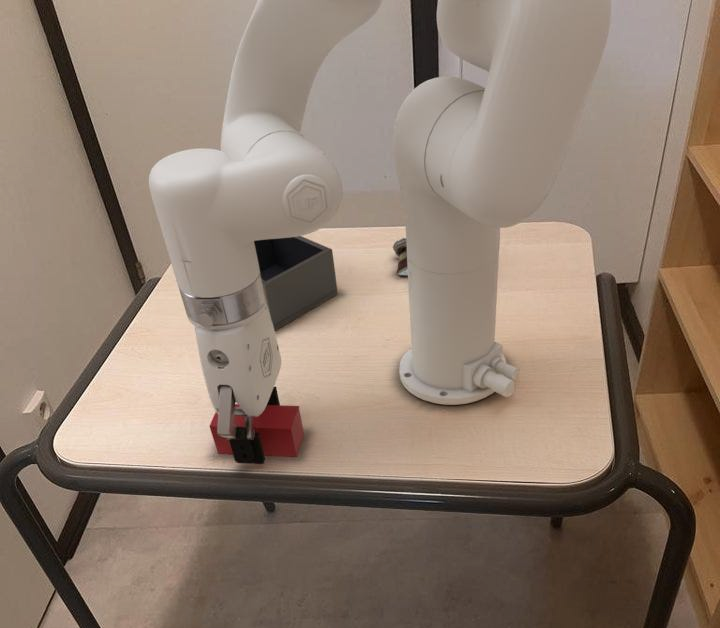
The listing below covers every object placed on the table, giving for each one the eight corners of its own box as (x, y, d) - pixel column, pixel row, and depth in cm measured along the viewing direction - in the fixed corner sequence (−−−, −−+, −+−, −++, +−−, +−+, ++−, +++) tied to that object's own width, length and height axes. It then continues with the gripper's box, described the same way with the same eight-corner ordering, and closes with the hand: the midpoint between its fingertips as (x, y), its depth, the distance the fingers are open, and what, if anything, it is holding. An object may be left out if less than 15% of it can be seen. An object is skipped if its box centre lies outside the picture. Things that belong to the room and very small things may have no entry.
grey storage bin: (338, 294, 101) (332, 249, 96) (274, 331, 95) (265, 285, 91) (276, 265, 108) (268, 222, 103) (214, 298, 103) (203, 254, 98)
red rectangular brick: (304, 433, 80) (298, 405, 77) (296, 456, 78) (291, 428, 75) (227, 430, 82) (219, 403, 79) (217, 453, 79) (209, 426, 76)
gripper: (236, 350, 60) (273, 496, 73) (283, 248, 72) (308, 389, 85) (152, 348, 61) (203, 493, 74) (212, 249, 73) (247, 388, 86)
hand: (259, 437), depth 79 cm, fingers open, 6 cm apart
